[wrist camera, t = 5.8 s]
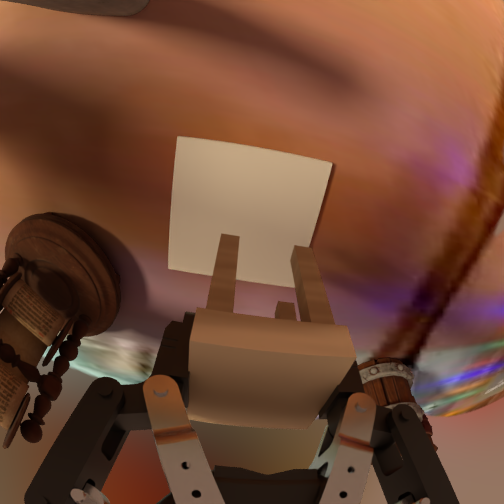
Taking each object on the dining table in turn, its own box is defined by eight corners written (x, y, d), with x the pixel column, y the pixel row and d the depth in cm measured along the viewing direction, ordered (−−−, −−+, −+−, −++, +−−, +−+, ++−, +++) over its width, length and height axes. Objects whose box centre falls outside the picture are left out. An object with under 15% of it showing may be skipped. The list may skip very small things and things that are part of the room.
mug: (358, 347, 33) (408, 456, 20) (424, 349, 37) (469, 428, 25) (310, 398, 38) (340, 492, 26) (379, 394, 43) (411, 467, 31)
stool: (216, 227, 16) (189, 340, 9) (318, 244, 16) (356, 357, 9) (206, 307, 19) (187, 419, 12) (293, 318, 19) (307, 429, 12)
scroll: (5, 264, 28) (-84, 379, 10) (44, 177, 22) (-114, 310, 5) (89, 338, 33) (33, 475, 16) (152, 278, 28) (79, 477, 11)
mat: (168, 266, 27) (167, 268, 27) (178, 135, 21) (177, 136, 21) (295, 285, 28) (296, 288, 28) (331, 162, 22) (332, 163, 22)
